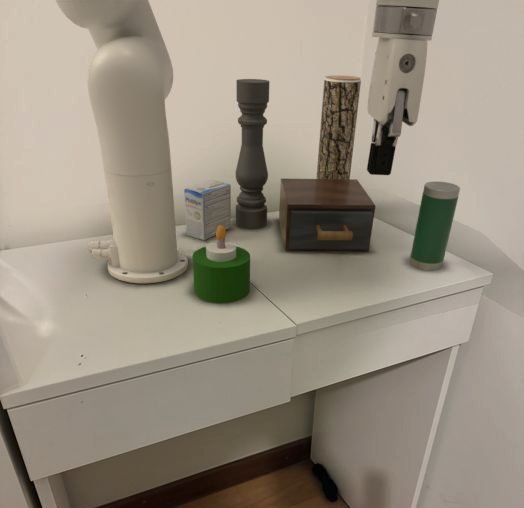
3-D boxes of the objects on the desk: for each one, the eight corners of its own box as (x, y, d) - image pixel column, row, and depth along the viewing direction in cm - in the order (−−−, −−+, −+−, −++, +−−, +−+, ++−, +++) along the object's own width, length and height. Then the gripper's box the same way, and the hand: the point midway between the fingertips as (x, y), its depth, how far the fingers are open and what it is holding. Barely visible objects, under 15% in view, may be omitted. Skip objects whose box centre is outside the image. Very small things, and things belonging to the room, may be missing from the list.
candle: (192, 303, 73) (189, 236, 68) (195, 278, 80) (192, 215, 75) (251, 303, 74) (252, 236, 68) (248, 278, 81) (249, 215, 75)
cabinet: (368, 251, 91) (375, 205, 86) (285, 251, 90) (287, 204, 86) (352, 221, 104) (357, 179, 99) (278, 220, 103) (280, 178, 99)
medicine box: (213, 224, 101) (212, 178, 96) (231, 229, 98) (231, 183, 94) (185, 235, 95) (183, 188, 90) (204, 241, 93) (202, 193, 88)
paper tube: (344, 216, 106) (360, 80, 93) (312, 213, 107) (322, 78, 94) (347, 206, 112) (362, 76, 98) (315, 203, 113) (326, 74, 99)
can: (414, 270, 85) (430, 190, 77) (405, 257, 89) (420, 181, 82) (446, 270, 85) (465, 191, 78) (436, 257, 89) (453, 181, 82)
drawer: (373, 260, 85) (379, 223, 82) (291, 260, 84) (294, 222, 81) (351, 220, 101) (355, 187, 98) (282, 220, 101) (284, 186, 97)
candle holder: (238, 217, 104) (238, 78, 91) (268, 219, 104) (273, 79, 90) (232, 227, 99) (231, 81, 85) (264, 230, 98) (268, 83, 85)
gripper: (452, 28, 59) (418, 189, 69) (415, 25, 72) (390, 162, 82) (388, 25, 59) (363, 187, 69) (362, 22, 71) (344, 160, 81)
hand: (378, 173), depth 75 cm, fingers closed
